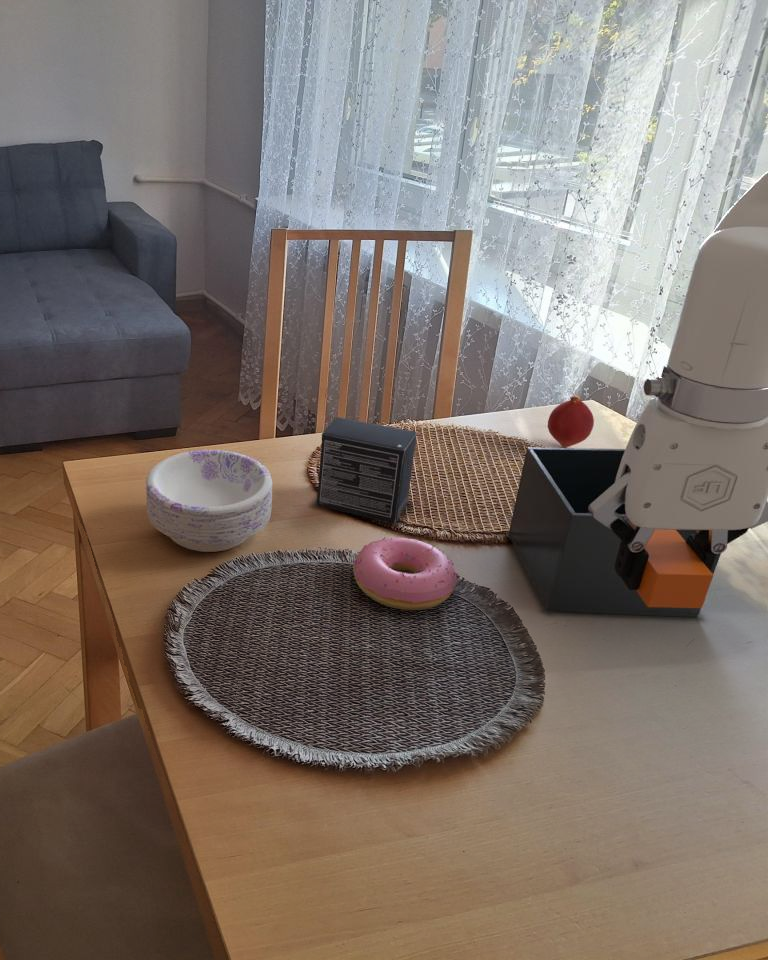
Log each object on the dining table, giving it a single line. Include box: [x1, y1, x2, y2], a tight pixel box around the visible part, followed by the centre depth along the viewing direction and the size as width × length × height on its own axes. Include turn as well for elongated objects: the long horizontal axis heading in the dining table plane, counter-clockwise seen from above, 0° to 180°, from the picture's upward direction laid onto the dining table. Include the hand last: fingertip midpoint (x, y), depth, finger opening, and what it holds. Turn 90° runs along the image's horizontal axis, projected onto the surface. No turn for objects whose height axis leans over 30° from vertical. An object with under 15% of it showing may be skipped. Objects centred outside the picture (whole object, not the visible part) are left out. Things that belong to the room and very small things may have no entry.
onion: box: [547, 395, 595, 448], centre depth 122 cm, size 6×6×8 cm
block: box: [636, 529, 714, 609], centre depth 75 cm, size 4×7×4 cm, turn 174°
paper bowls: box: [145, 449, 273, 553], centre depth 105 cm, size 15×15×8 cm
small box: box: [315, 416, 418, 525], centre depth 109 cm, size 11×6×10 cm, turn 59°
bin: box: [507, 446, 722, 618], centre depth 94 cm, size 15×15×12 cm
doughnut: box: [352, 536, 458, 611], centre depth 95 cm, size 11×11×4 cm
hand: (658, 580), depth 76 cm, fingers closed on block, 4 cm apart
